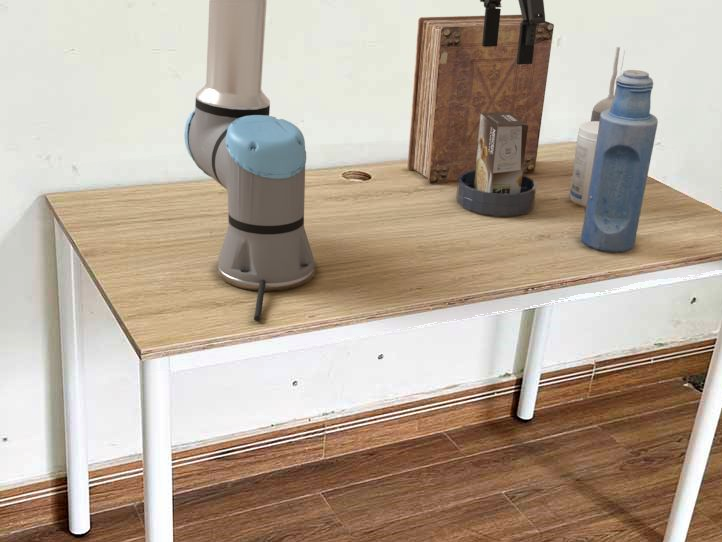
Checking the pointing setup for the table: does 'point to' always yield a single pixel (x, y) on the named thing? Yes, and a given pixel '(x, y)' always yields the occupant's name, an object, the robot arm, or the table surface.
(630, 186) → the bottle
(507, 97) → the book
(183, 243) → the table surface
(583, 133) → the supplement tub
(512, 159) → the coffee box
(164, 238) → the table surface
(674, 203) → the table surface
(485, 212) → the bowl
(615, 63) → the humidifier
